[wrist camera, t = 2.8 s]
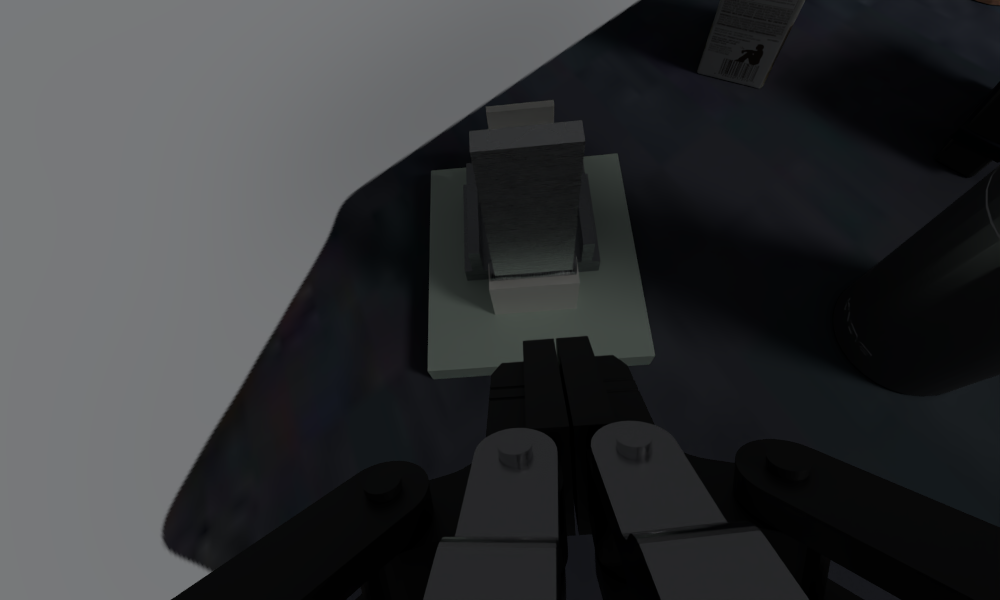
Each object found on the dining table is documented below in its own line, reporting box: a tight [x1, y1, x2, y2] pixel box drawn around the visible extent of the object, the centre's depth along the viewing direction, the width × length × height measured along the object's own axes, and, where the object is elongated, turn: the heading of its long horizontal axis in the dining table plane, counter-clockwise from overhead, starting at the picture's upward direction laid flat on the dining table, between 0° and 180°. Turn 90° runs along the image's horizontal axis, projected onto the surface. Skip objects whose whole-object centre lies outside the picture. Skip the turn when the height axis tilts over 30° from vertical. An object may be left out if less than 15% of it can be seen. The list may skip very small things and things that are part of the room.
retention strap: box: [469, 120, 585, 281], centre depth 28 cm, size 6×1×13 cm, turn 93°
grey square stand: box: [428, 100, 655, 379], centre depth 37 cm, size 16×18×8 cm
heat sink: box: [463, 163, 600, 281], centre depth 38 cm, size 10×8×4 cm
